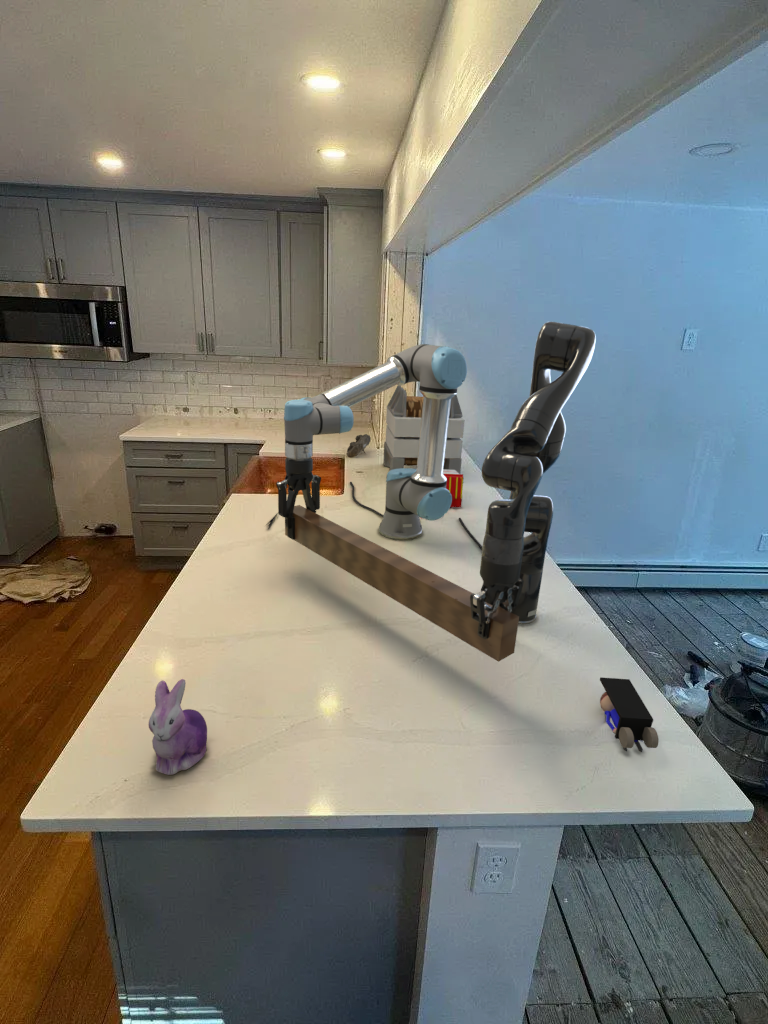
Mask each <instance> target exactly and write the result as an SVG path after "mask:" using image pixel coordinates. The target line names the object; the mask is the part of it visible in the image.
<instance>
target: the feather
mask: <svg viewBox="0 0 768 1024" xmlns="http://www.w3.org/2000/svg"><path fill="white" fill-rule="evenodd" d="M278 515H279V514H278V512H277V513H276V514H275V515H274V516H273V517H272V518H271V519H269V521H268V522H267V523H266V524H265V526H267V525H268V529H267V530H269V529H270V528H271V526H272V524H273V523H274V521H275V520H276V517H277V516H278Z"/></svg>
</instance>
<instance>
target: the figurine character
mask: <svg viewBox="0 0 768 1024" xmlns="http://www.w3.org/2000/svg"><path fill="white" fill-rule="evenodd" d="M599 682H600V683H601V685H602V687H603V689H604V691H605V692H603V693H602V694H601V696H600V699H599V705H600V708H601V709H602V711H603V713H604V715H605V716H606V717H605V723H606V724H607V726H608V728H610V729H611V731H612V732H613V734H614V738H615V740H618V741H619V744H620V745H621V747H622V750H623V751H625V753H627V752H628V749H633V748H634V745H635V747H636V749H637V750H638V751H639V752H640V753H643V751H644V749H643V746H642V745H641V743H640V741H642V742H643V744H644V746H645V747H646V748H649V749H657V748H658V747H659V742H660V741H659V734H658V732H657V730H656V728H654V727H653V722H654V717H653V716H652V715H651V713H650V711H649V710H648V707H647V706H646V704H645V703H644V701H643V700H642V698H641V696H640V695H639V693H638V691H637V689H636V688H635V686H634V685H633V683H632V681H631V679H630V678H628V679H627V678H615V677H601V676H600V677H599Z"/></svg>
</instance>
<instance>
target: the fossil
mask: <svg viewBox="0 0 768 1024" xmlns="http://www.w3.org/2000/svg"><path fill="white" fill-rule="evenodd" d="M354 440H355V441H351V442H350V443H349V446H348V447H347V450H346V456H347V457H348V458H352V457H355V456H357V455H359V454H360V453H361V452H363V453H364V454H366V452H365V449H366V448H367V446H369V445H370V443H371V440H372V439H371V436H370V434H367V433H365V434H358V435H356V436H355V438H354Z"/></svg>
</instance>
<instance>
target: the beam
mask: <svg viewBox="0 0 768 1024" xmlns="http://www.w3.org/2000/svg"><path fill="white" fill-rule="evenodd" d="M292 517H294V518H295V539H294V540H293V541H294V542H296V543H298V544H300V546H302V547H305V548H306V549H307V550H310V551H311V552H313V553H315V554H317V555H318V556H320V557H321V558H323V559H324V560H327V561H328V562H330V563H331V564H333V565H335V566H337V567H338V568H340V569H341V570H343V571H345V572H347V573H348V574H350V575H351V576H353V577H355V578H357V579H359V580H360V581H361V582H363V583H365V584H367V585H369V586H370V587H371V588H374V589H375V590H377V591H378V592H380V593H382V594H384V595H386V596H387V597H389V598H390V599H392V600H393V601H396V602H397V603H399V604H401V605H402V606H404V607H406V608H407V609H409V610H410V611H412V612H414V613H416V614H417V615H419V616H420V617H422V618H424V619H425V620H428V621H429V622H430V623H432V624H434V625H435V626H438V627H439V628H440V629H442V630H444V631H446V632H447V633H449V634H451V635H452V636H454V637H456V638H457V639H459V640H461V641H462V642H465V643H466V644H468V645H469V646H470V647H473V648H475V649H476V650H478V651H479V652H481V653H483V654H484V655H486V656H488V657H490V658H491V659H493V660H495V661H496V662H498V663H499V662H501V661H503V660H505V659H506V658H508V657H510V656H511V655H513V654H514V653H515V649H516V644H517V643H516V642H517V635H518V627H519V624H518V622H519V616H517V615H515V614H513V613H511V612H509V611H507V610H505V609H503V608H501V607H499V606H498V608H497V611H496V613H493V616H492V619H491V621H490V623H491V624H490V632H489V638H488V639H483V638H481V637H480V636H479V635H478V624H479V622H477V621H476V620H474V619H472V618H471V605H470V595H471V594H472V593H473V592H471V591H469V590H467V589H465V588H464V587H462V586H460V585H458V584H455V583H454V582H452V581H450V580H448V579H446V578H443V577H442V576H440V575H438V574H437V573H434V572H432V571H430V570H428V569H426V568H425V567H422V566H420V565H419V564H416V563H414V562H412V561H411V560H409V559H407V558H404V557H403V556H401V555H399V554H397V553H395V552H393V551H391V550H389V549H387V548H385V547H383V546H381V545H379V544H377V543H375V542H373V541H371V540H369V539H368V538H366V537H363V536H362V535H360V534H357V533H356V532H354V531H351V530H350V529H347V528H346V527H343V526H341V525H340V524H337V523H336V522H334V521H332V520H330V519H328V518H326V517H324V516H321V515H320V514H318V513H317V512H316V513H314V512H312V511H310V510H308V509H306V507H304V506H302V505H300V504H297V505H295V506H294V510H293V515H292ZM284 534H285V536H286V537H288V530H287V528H286V527H285V526H284ZM486 605H488V606H490V607H492V605H490V604H488V603H487V602H486ZM477 614H478V613H477ZM487 614H488V611H487V610H485V616H487Z"/></svg>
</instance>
